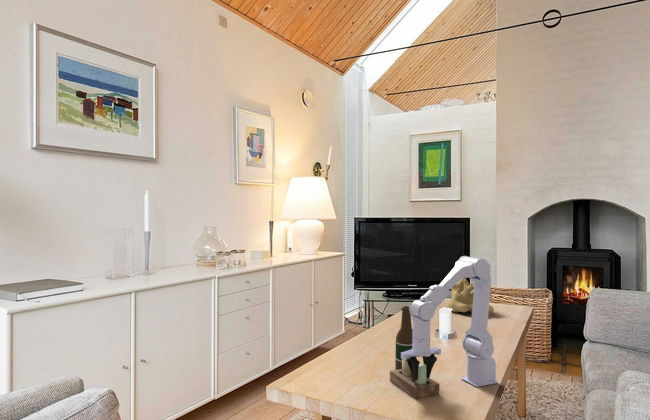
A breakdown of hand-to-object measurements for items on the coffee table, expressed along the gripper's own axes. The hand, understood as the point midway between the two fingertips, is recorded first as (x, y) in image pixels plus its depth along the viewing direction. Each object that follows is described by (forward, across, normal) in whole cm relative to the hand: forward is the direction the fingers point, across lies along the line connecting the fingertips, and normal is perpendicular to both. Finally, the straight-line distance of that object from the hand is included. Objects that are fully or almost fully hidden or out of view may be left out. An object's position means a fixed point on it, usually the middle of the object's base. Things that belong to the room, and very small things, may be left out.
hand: (420, 378), depth 148 cm
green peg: (+5, 0, 0) cm, 5 cm away
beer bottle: (+5, +6, +18) cm, 20 cm away
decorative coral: (+5, +92, +82) cm, 123 cm away
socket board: (+5, 0, +4) cm, 6 cm away
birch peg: (+5, 0, +8) cm, 9 cm away
